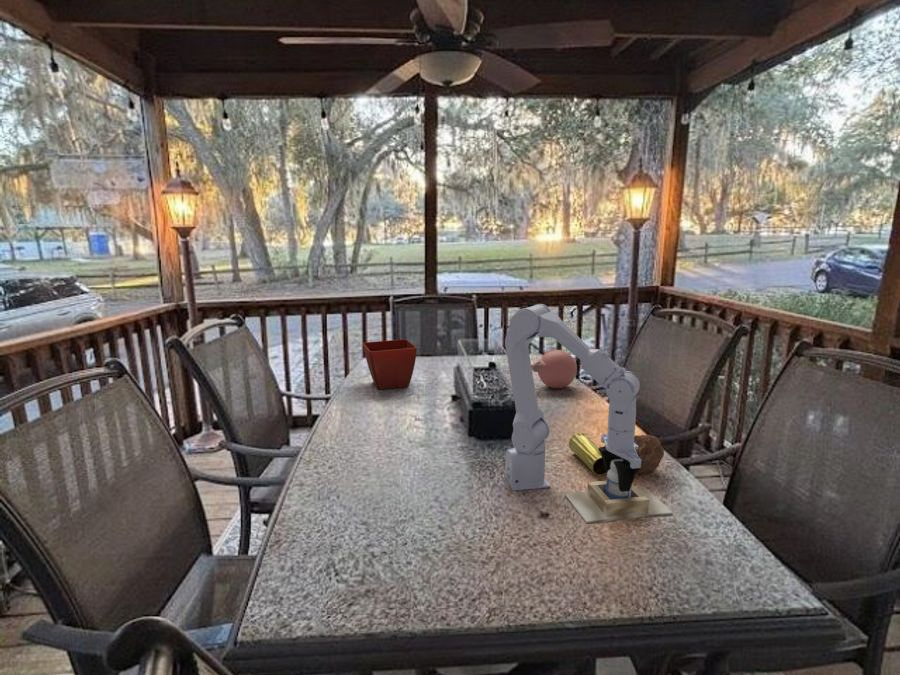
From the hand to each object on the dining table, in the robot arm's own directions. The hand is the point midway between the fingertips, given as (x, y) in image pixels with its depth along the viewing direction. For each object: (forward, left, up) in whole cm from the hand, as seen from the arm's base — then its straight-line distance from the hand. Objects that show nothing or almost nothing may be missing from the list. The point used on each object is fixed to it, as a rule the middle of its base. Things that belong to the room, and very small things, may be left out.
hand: (618, 484), depth 115 cm
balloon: (+17, +88, -5) cm, 90 cm away
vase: (+3, +28, -2) cm, 28 cm away
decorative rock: (+13, +15, -5) cm, 21 cm away
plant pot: (-46, +106, -5) cm, 116 cm away
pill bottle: (0, 0, -5) cm, 5 cm away
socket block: (0, 0, -5) cm, 5 cm away
